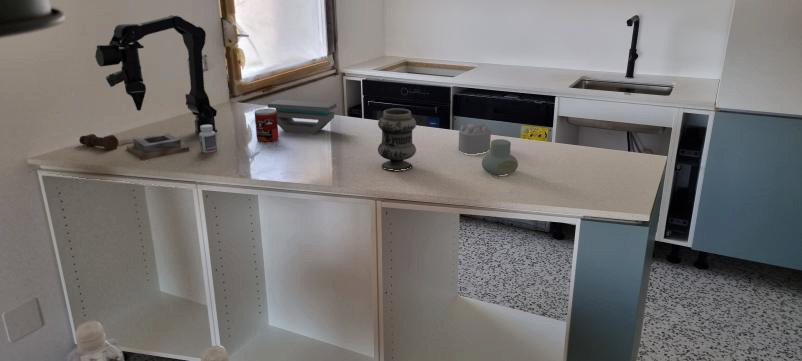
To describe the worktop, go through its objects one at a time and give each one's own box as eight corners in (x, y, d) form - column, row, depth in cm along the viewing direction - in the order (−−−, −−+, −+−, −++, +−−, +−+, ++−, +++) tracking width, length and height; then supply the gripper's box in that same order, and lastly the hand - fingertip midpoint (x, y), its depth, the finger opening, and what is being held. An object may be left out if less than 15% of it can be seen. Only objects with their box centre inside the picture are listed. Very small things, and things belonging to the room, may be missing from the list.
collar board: (172, 140, 219) (171, 131, 218) (189, 150, 207) (188, 140, 206) (127, 148, 209) (125, 138, 208) (142, 159, 198) (140, 148, 196)
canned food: (252, 142, 217) (250, 112, 213) (265, 136, 224) (263, 107, 220) (270, 144, 214) (268, 114, 211) (282, 138, 221) (280, 109, 218)
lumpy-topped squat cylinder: (491, 146, 211) (493, 122, 208) (485, 157, 199) (486, 131, 196) (463, 144, 214) (463, 120, 211) (454, 154, 202) (455, 129, 199)
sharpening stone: (337, 130, 232) (336, 103, 228) (329, 136, 225) (328, 107, 221) (279, 126, 239) (277, 99, 235) (269, 131, 232) (267, 103, 228)
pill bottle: (220, 149, 208) (217, 124, 205) (211, 153, 203) (208, 128, 201) (207, 148, 210) (204, 123, 207) (198, 152, 205) (195, 127, 202)
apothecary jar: (403, 175, 181) (403, 117, 175) (370, 168, 187) (369, 112, 181) (423, 164, 191) (423, 109, 185) (391, 159, 197) (390, 105, 191)
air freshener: (491, 179, 178) (492, 147, 174) (476, 171, 185) (478, 140, 181) (521, 174, 182) (523, 143, 178) (506, 166, 189) (508, 136, 186)
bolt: (86, 149, 216) (116, 153, 209) (74, 145, 211) (104, 149, 205) (90, 133, 216) (120, 137, 210) (78, 130, 212) (108, 133, 206)
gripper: (104, 60, 208) (112, 104, 213) (105, 68, 192) (113, 116, 197) (139, 58, 212) (146, 101, 218) (142, 65, 197) (149, 112, 202)
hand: (138, 107), depth 209 cm, fingers open, 9 cm apart
